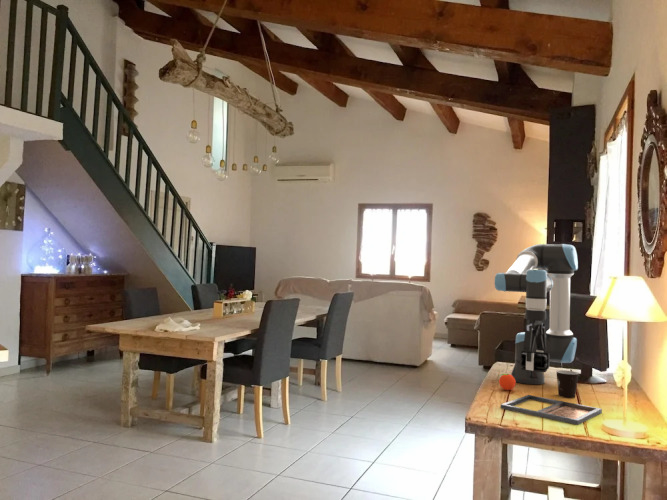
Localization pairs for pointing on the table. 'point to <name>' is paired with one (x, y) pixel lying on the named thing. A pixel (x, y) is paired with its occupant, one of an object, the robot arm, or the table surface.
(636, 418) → the table surface
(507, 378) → the clementine
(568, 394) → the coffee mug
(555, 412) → the divided grey frame
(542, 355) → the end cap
